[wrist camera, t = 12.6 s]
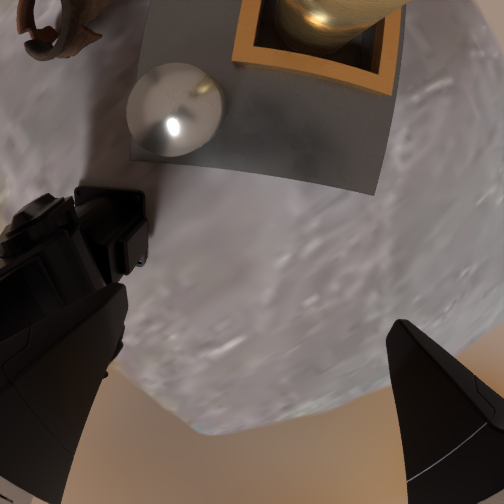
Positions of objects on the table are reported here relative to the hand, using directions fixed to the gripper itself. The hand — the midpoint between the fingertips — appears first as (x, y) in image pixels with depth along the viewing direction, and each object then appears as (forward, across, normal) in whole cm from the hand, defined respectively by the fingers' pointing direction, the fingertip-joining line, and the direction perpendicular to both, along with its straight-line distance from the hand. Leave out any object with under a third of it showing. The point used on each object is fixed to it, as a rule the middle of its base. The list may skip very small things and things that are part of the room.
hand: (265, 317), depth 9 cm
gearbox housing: (+13, +1, -10) cm, 16 cm away
